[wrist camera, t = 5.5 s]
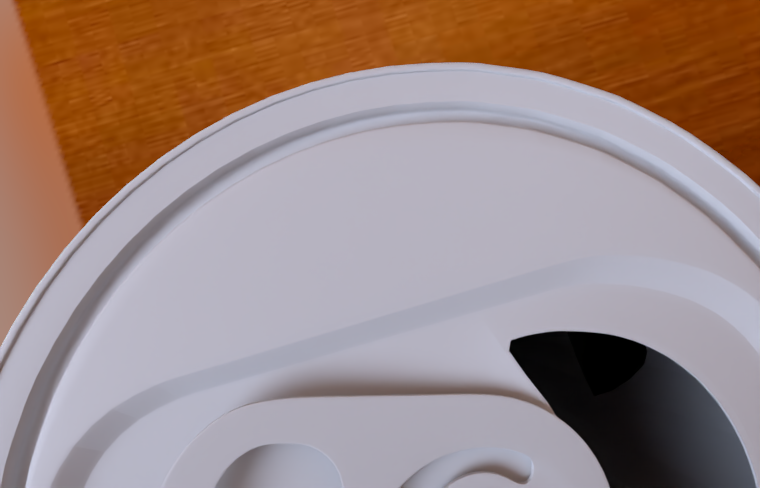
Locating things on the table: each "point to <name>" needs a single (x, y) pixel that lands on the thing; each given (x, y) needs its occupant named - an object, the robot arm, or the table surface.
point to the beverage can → (400, 300)
